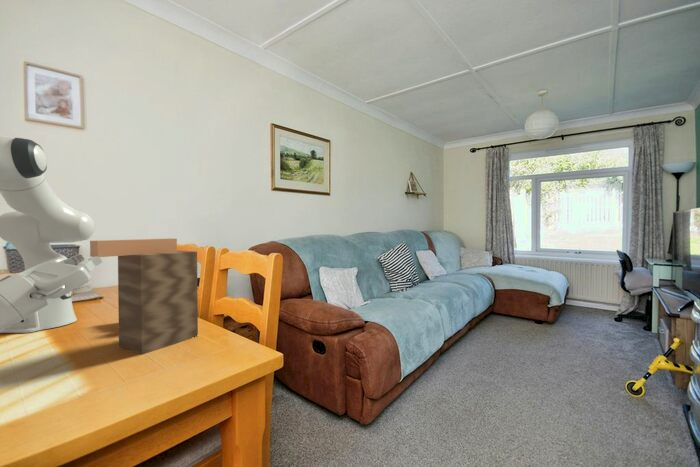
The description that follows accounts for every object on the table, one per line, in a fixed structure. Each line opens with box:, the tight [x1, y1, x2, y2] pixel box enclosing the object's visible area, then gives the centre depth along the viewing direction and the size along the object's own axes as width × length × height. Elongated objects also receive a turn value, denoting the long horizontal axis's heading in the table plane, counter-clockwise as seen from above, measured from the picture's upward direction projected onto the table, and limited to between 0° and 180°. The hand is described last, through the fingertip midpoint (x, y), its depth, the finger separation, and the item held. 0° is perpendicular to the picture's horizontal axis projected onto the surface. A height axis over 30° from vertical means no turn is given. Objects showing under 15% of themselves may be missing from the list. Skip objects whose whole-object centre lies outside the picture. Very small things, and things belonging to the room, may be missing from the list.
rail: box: [89, 237, 178, 258], centre depth 87 cm, size 20×4×4 cm, turn 150°
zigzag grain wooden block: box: [117, 249, 199, 355], centre depth 92 cm, size 16×12×26 cm
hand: (90, 257), depth 78 cm, fingers open, 8 cm apart
